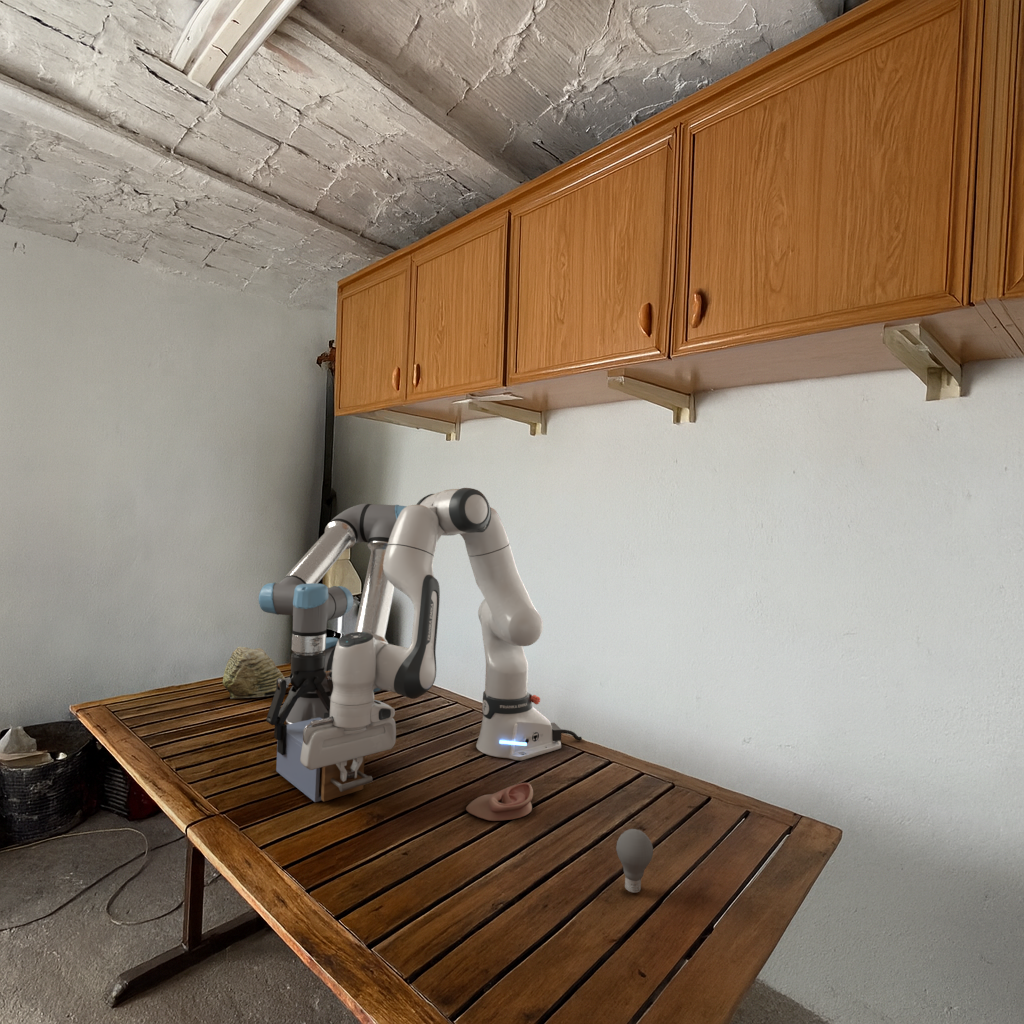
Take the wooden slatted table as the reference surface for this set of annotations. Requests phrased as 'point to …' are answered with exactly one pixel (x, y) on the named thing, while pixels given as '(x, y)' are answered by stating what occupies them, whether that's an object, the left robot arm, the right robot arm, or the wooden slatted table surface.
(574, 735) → the right robot arm
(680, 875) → the wooden slatted table surface
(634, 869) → the light bulb
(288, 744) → the cabinet
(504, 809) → the anatomical model
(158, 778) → the wooden slatted table surface
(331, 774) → the drawer
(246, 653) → the fossil
